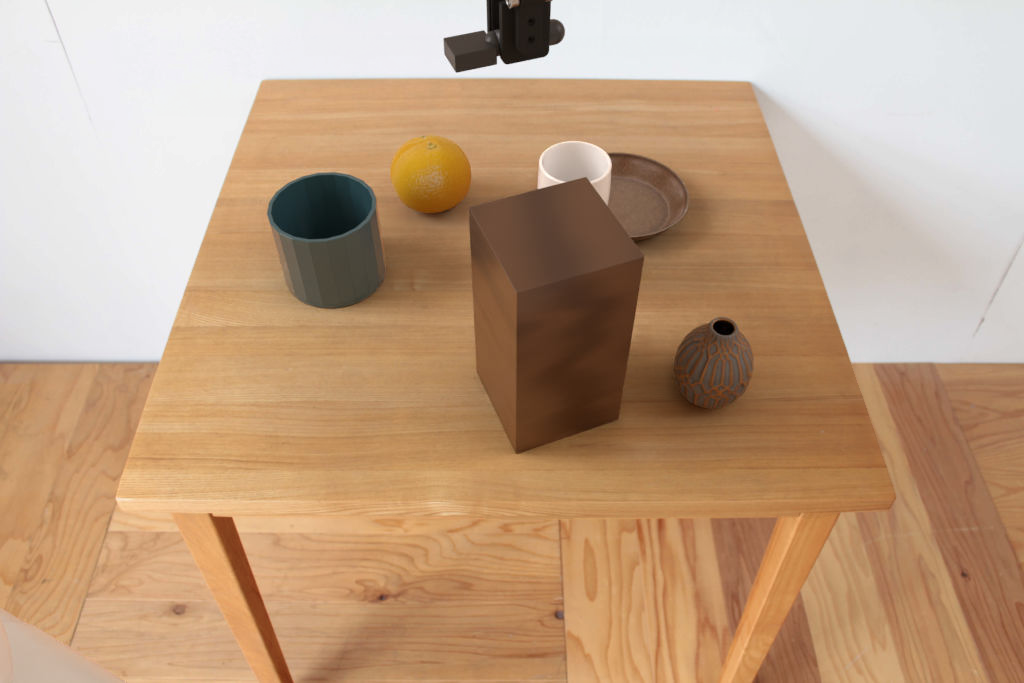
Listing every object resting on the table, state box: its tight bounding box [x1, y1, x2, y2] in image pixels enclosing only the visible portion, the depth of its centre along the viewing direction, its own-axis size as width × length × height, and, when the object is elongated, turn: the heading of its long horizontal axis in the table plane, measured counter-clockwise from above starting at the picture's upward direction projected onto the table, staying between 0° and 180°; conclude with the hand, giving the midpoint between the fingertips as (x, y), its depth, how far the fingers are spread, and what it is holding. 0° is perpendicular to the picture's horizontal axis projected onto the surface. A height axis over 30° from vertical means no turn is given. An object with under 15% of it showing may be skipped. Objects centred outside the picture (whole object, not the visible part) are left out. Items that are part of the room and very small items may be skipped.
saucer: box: [606, 151, 690, 242], centre depth 95 cm, size 15×15×3 cm
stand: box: [468, 177, 645, 455], centre depth 71 cm, size 10×10×20 cm
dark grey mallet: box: [443, 18, 566, 74], centre depth 55 cm, size 8×2×2 cm, turn 111°
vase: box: [672, 316, 755, 409], centre depth 76 cm, size 7×7×9 cm
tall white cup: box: [536, 140, 612, 206], centre depth 83 cm, size 7×7×15 cm
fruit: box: [389, 134, 472, 214], centre depth 94 cm, size 9×8×8 cm
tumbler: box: [266, 171, 387, 309], centre depth 86 cm, size 10×10×9 cm
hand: (518, 48), depth 56 cm, fingers closed on dark grey mallet, 1 cm apart
